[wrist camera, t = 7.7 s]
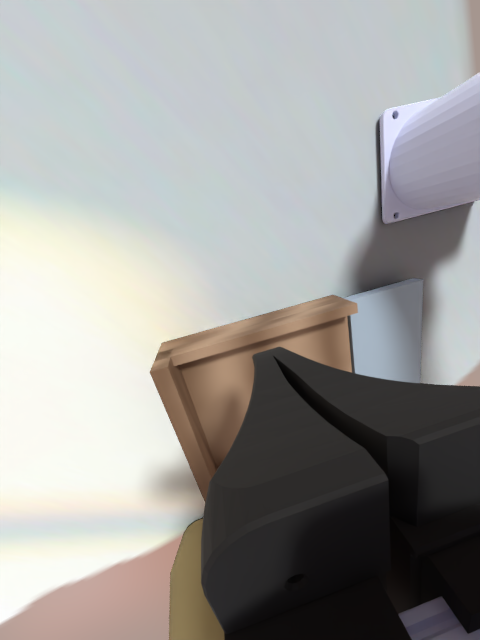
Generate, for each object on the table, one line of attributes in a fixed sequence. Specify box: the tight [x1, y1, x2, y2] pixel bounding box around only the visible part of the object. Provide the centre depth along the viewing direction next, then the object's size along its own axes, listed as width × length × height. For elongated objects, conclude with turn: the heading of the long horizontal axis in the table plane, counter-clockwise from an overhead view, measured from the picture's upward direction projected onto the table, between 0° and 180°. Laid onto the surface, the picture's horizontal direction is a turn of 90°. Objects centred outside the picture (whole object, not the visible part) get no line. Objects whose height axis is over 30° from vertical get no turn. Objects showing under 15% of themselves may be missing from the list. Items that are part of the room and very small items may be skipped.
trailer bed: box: [150, 295, 358, 502], centre depth 20 cm, size 16×14×5 cm
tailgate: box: [343, 278, 423, 383], centre depth 22 cm, size 1×14×7 cm
